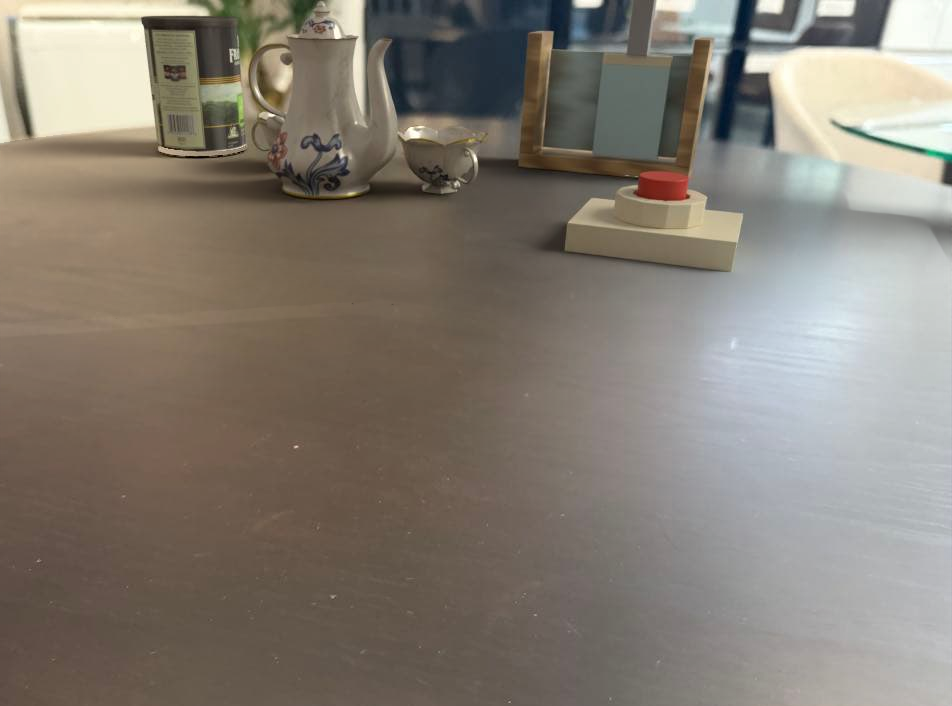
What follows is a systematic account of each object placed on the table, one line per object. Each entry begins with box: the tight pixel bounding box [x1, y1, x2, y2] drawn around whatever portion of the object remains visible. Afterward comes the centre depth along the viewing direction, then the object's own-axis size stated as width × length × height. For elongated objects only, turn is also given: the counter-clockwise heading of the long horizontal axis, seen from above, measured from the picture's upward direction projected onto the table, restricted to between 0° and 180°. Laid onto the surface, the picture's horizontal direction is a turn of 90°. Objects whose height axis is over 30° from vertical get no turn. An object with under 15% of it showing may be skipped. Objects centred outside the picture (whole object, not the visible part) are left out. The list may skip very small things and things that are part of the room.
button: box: [637, 171, 690, 201], centre depth 63 cm, size 4×4×2 cm
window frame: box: [517, 30, 716, 179], centre depth 88 cm, size 18×5×14 cm, turn 68°
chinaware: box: [247, 0, 489, 200], centre depth 79 cm, size 28×17×17 cm, turn 63°
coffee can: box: [140, 15, 247, 158], centre depth 94 cm, size 10×10×14 cm
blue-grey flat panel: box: [592, 0, 673, 160], centre depth 85 cm, size 7×2×17 cm, turn 68°
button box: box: [564, 184, 744, 273], centre depth 64 cm, size 12×9×4 cm
